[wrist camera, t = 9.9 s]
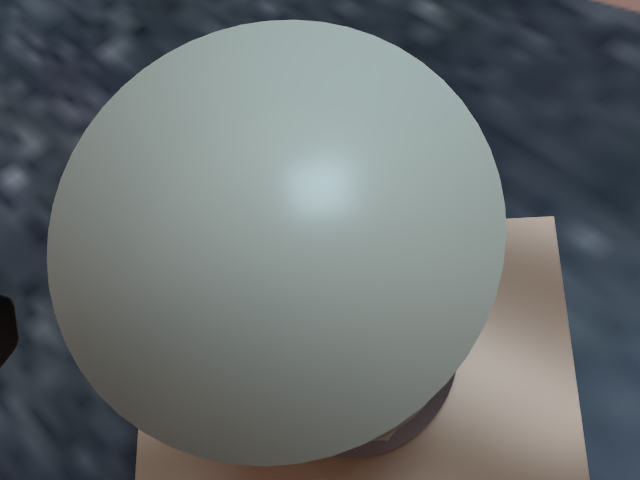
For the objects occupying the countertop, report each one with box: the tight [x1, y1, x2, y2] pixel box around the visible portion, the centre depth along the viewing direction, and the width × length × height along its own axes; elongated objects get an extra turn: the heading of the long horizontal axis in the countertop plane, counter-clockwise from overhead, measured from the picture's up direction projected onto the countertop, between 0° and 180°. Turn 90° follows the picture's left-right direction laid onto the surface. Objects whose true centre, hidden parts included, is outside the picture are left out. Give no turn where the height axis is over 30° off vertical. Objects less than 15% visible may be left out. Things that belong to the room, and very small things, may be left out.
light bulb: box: [47, 20, 506, 466], centre depth 13 cm, size 6×6×13 cm
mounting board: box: [135, 216, 590, 480], centre depth 18 cm, size 16×14×5 cm
